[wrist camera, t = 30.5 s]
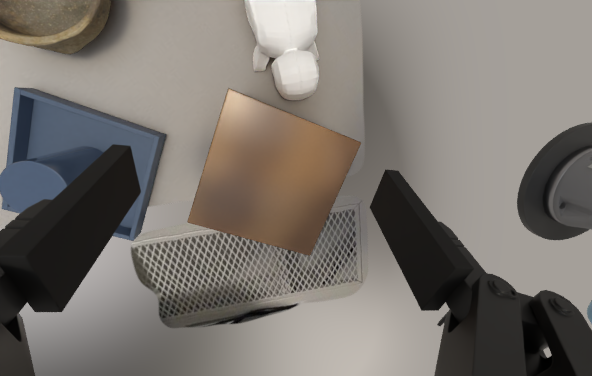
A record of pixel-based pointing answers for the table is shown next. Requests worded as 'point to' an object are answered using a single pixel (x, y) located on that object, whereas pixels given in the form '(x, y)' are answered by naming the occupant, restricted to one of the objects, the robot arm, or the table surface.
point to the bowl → (53, 22)
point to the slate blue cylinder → (44, 176)
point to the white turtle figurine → (286, 44)
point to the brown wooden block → (270, 175)
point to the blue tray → (82, 142)
